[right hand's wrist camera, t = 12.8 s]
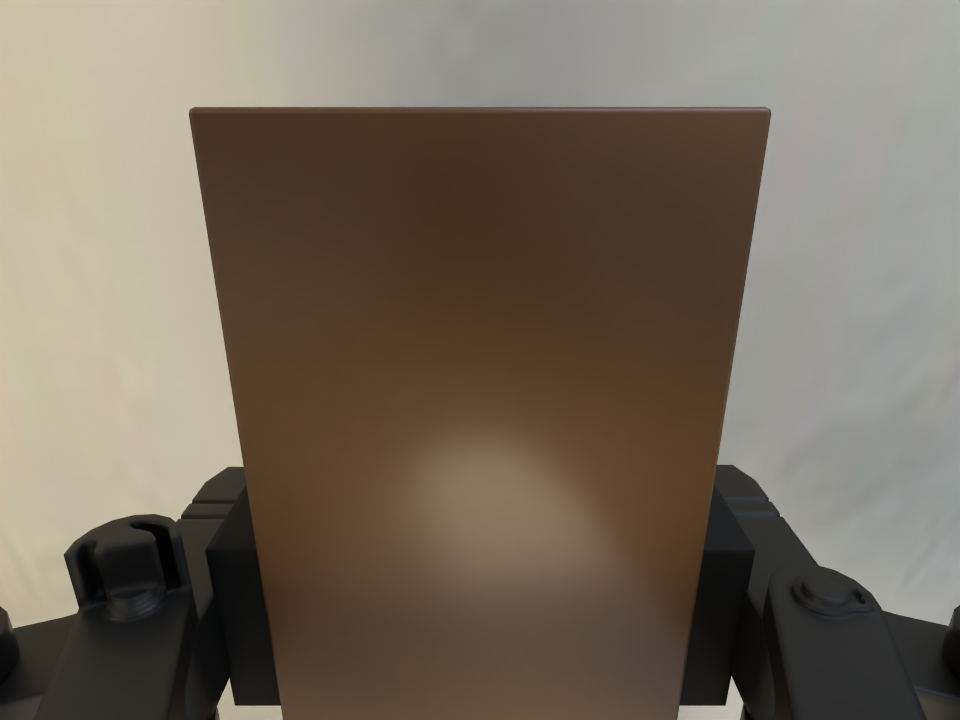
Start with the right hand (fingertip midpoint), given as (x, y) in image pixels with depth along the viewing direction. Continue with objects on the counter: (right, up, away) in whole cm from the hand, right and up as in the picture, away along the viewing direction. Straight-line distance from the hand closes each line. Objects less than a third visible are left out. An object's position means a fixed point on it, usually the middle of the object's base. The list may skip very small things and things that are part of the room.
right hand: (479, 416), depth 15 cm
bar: (0, -20, +8) cm, 22 cm away
